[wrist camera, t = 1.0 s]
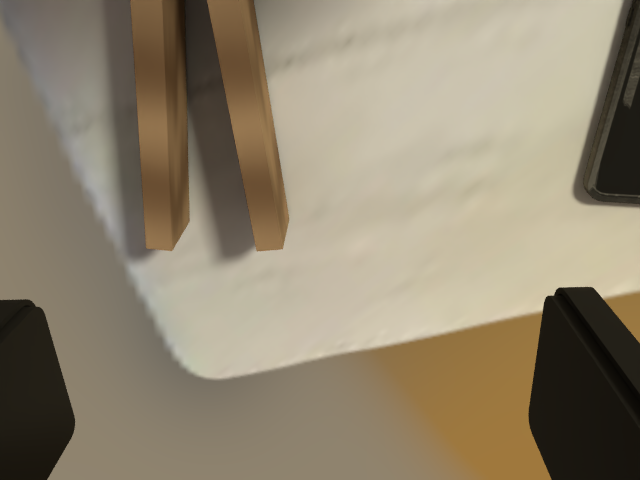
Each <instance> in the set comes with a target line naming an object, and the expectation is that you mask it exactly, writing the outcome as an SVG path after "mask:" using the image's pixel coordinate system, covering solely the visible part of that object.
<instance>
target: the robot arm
mask: <svg viewBox="0 0 640 480" xmlns="http://www.w3.org/2000/svg"><path fill="white" fill-rule="evenodd" d="M529 424H530V429H531V432H532V434H533V437H534V439H535V442H536V444H537V446H538V449H539V451H540V453H541V456H542V458H543V460H544V463H545V465H546V467H547V470H548V472H549V474H550V477H551V479H552V480H640V343H639V342H638V341H637V340H636V338H635V337H634V336H633V335H632V334H631V332H630V331H629V330H628V329H627V328H626V326H625V325H624V324H623V323H622V322H621V320H620V319H619V318H618V317H617V315H616V314H615V313H614V312H613V311H612V309H611V308H610V307H609V306H608V305H607V304H606V302H605V301H604V300H603V299H602V297H601V296H600V295H599V294H598V293H597V291H596V290H595V289H594V288H592V287H568V288H558V289H557V290H556V292H555V294H554V296H547V297H546V299H545V302H544V307H543V314H542V322H541V328H540V335H539V343H538V349H537V356H536V363H535V370H534V378H533V384H532V391H531V398H530V406H529ZM74 427H75V418H74V414H73V410H72V407H71V403H70V400H69V396H68V393H67V389H66V386H65V382H64V379H63V376H62V372H61V368H60V365H59V362H58V358H57V355H56V351H55V348H54V344H53V341H52V337H51V334H50V330H49V327H48V323H47V320H46V317H45V314H44V311H43V310H42V309H41V308H40V307H36V306H35V304H34V303H33V302H32V301H30V300H0V480H47V479H48V477H49V475H50V474H51V472H52V470H53V468H54V467H55V465H56V463H57V461H58V460H59V458H60V456H61V455H62V453H63V451H64V450H65V448H66V446H67V444H68V443H69V441H70V439H71V437H72V435H73V432H74Z"/></svg>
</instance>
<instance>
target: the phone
mask: <svg viewBox="0 0 640 480" xmlns="http://www.w3.org/2000/svg"><path fill="white" fill-rule="evenodd" d="M583 184H584V188H585V190H586V191H587V192H588V193H589V194H590V195H591V197H592V198H594V199H596V200H598V201H603V202H618V203H635V204H640V0H633V3H632V7H631V8H630V11H629V15H628V18H627V22H626V28H625V32H624V36H623V39H622V43H621V46H620V50H619V53H618V57H617V61H616V64H615V68H614V71H613V75H612V79H611V82H610V86H609V89H608V93H607V96H606V100H605V104H604V107H603V111H602V114H601V118H600V122H599V125H598V129H597V132H596V136H595V139H594V143H593V147H592V150H591V154H590V157H589V161H588V165H587V168H586V172H585V175H584V181H583Z"/></svg>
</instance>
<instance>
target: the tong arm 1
mask: <svg viewBox="0 0 640 480" xmlns="http://www.w3.org/2000/svg"><path fill="white" fill-rule="evenodd" d="M130 3H131V19H132V35H133V50H134V66H135V82H136V97H137V113H138V129H139V144H140V160H141V176H142V192H143V207H144V223H145V239H146V248H147V249H157V250H167V251H172V250H173V248H174V247H175V245H176V243H177V242H178V240H179V238H180V237H181V235H182V233H183V232H184V230H185V228H186V226H187V225H188V223H189V221H190V218H189V175H188V131H187V87H186V44H185V0H130Z"/></svg>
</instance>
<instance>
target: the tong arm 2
mask: <svg viewBox="0 0 640 480" xmlns="http://www.w3.org/2000/svg"><path fill="white" fill-rule="evenodd" d="M207 3H208V8H209V13H210V18H211V23H212V28H213V33H214V38H215V43H216V48H217V53H218V58H219V63H220V68H221V74H222V79H223V84H224V89H225V94H226V99H227V104H228V109H229V114H230V119H231V124H232V129H233V134H234V139H235V144H236V149H237V154H238V159H239V164H240V169H241V174H242V180H243V185H244V190H245V195H246V200H247V205H248V210H249V215H250V220H251V225H252V230H253V235H254V240H255V245H256V250H257V251H267V250H279V249H283V245H284V241H285V236H286V232H287V227H288V223H289V214H288V208H287V202H286V196H285V190H284V184H283V178H282V172H281V166H280V159H279V153H278V147H277V141H276V135H275V129H274V123H273V117H272V111H271V104H270V98H269V92H268V86H267V80H266V74H265V68H264V62H263V56H262V50H261V43H260V37H259V31H258V25H257V19H256V13H255V7H254V1H253V0H207Z"/></svg>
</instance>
